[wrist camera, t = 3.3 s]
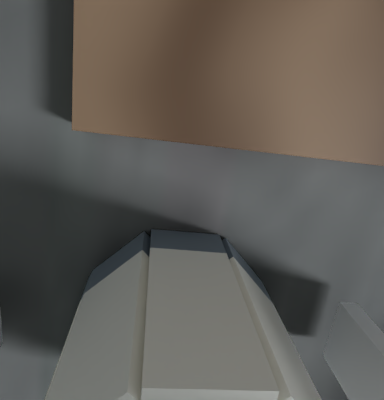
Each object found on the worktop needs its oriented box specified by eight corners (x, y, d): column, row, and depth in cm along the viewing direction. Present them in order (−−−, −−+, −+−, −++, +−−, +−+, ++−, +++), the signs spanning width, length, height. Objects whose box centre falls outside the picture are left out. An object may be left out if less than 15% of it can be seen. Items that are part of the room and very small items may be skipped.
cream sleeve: (274, 239, 13) (385, 394, 7) (242, 377, 16) (303, 594, 9) (91, 224, 12) (13, 384, 6) (85, 373, 15) (24, 610, 8)
